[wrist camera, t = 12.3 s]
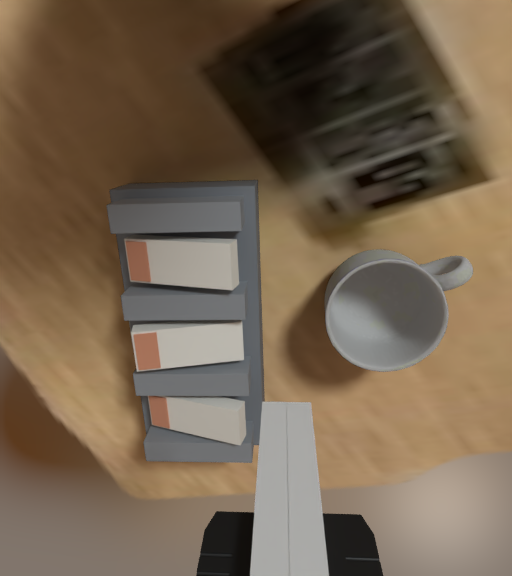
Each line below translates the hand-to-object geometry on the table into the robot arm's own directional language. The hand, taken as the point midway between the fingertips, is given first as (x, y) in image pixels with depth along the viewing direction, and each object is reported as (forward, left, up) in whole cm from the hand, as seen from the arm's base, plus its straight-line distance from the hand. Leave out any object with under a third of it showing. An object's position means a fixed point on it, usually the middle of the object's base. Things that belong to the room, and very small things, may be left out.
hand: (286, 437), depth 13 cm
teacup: (+6, +11, -32) cm, 34 cm away
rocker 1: (+1, -9, -24) cm, 25 cm away
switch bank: (+9, -9, -31) cm, 34 cm away
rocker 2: (+9, -9, -24) cm, 27 cm away
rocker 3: (+17, -9, -24) cm, 31 cm away
